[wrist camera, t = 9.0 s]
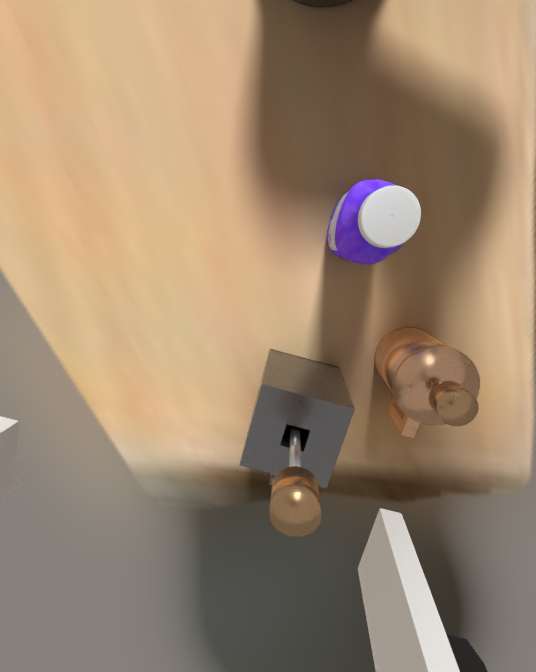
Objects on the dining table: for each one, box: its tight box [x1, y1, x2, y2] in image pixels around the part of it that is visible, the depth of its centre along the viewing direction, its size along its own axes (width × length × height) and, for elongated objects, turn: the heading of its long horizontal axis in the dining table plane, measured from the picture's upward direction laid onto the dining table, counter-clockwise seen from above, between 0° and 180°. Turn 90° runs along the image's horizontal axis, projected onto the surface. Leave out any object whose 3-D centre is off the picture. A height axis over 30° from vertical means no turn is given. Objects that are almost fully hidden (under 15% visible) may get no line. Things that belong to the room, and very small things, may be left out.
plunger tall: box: [269, 424, 322, 537], centre depth 34 cm, size 7×7×19 cm
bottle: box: [327, 179, 421, 264], centre depth 33 cm, size 7×6×17 cm
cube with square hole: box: [240, 349, 354, 489], centre depth 41 cm, size 12×9×12 cm
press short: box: [375, 327, 480, 438], centre depth 38 cm, size 11×8×15 cm
